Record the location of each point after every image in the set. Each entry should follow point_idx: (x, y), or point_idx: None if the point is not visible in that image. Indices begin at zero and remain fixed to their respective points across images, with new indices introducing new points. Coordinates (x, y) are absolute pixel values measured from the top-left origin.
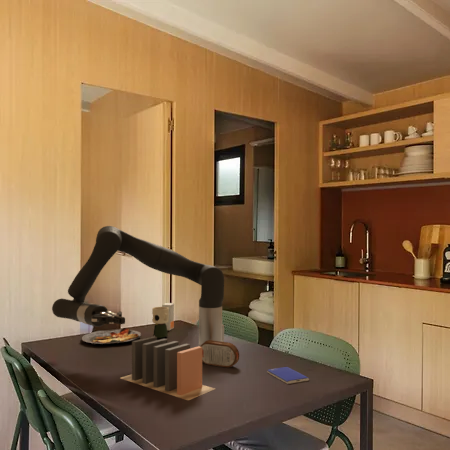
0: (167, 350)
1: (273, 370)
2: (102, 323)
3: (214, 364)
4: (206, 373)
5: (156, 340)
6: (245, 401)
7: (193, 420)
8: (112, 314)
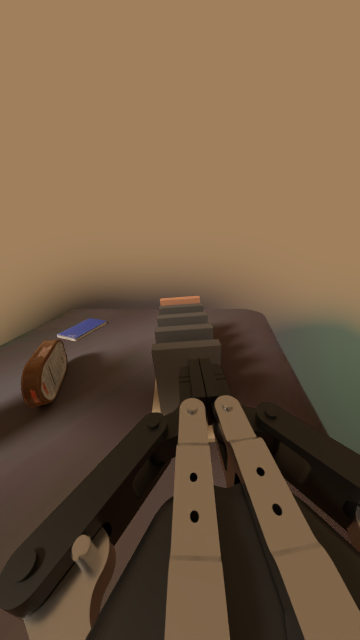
0: (202, 304)
1: (76, 334)
2: (304, 461)
3: (59, 385)
4: (106, 372)
5: (176, 330)
6: None
7: (220, 319)
8: (209, 447)
